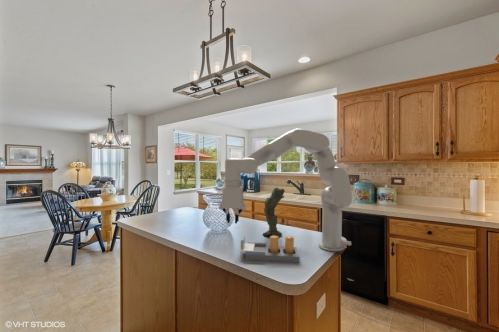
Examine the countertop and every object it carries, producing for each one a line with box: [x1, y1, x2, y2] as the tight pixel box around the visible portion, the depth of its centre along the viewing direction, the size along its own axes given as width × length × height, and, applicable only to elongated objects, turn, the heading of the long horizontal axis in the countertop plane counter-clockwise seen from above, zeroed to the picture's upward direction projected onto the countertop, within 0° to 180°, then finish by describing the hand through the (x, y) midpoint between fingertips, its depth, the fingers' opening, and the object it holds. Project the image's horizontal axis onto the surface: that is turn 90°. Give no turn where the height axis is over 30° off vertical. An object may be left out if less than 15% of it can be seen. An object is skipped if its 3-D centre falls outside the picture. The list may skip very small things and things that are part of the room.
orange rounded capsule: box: [269, 236, 280, 253], centre depth 110 cm, size 4×4×9 cm
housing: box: [244, 241, 300, 263], centre depth 110 cm, size 24×12×4 cm, turn 85°
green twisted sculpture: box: [262, 187, 286, 238], centre depth 141 cm, size 14×7×30 cm, turn 106°
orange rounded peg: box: [284, 235, 295, 254], centre depth 109 cm, size 4×4×9 cm
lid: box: [239, 235, 255, 254], centre depth 111 cm, size 6×10×5 cm, turn 175°
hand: (232, 222), depth 112 cm, fingers open, 3 cm apart
